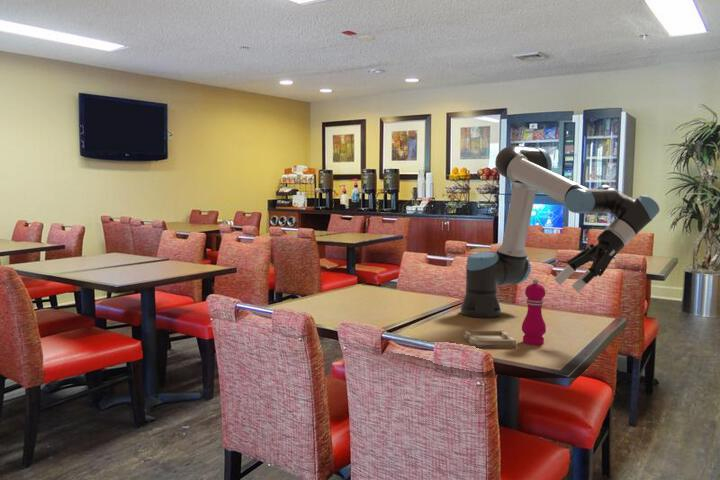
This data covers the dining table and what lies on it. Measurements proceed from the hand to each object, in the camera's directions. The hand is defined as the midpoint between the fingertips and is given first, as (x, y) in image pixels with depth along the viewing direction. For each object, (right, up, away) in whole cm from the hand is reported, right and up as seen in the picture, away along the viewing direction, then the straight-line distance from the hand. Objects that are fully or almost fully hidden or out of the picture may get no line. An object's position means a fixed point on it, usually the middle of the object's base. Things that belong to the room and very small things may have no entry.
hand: (565, 285), depth 176 cm
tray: (-23, -18, +1) cm, 29 cm away
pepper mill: (-9, -18, +2) cm, 20 cm away
